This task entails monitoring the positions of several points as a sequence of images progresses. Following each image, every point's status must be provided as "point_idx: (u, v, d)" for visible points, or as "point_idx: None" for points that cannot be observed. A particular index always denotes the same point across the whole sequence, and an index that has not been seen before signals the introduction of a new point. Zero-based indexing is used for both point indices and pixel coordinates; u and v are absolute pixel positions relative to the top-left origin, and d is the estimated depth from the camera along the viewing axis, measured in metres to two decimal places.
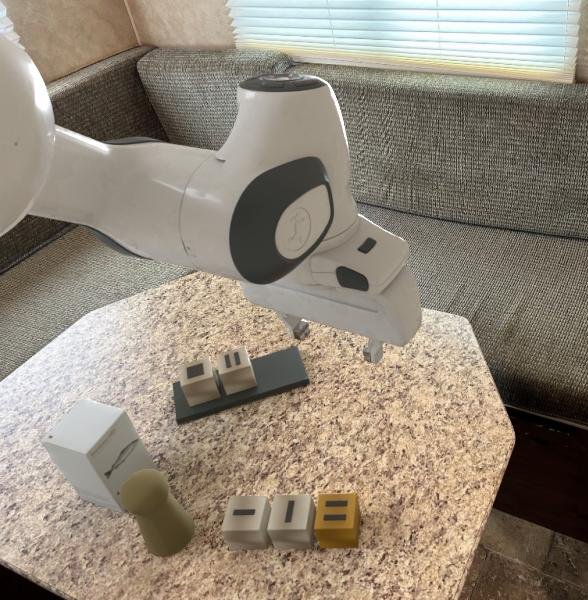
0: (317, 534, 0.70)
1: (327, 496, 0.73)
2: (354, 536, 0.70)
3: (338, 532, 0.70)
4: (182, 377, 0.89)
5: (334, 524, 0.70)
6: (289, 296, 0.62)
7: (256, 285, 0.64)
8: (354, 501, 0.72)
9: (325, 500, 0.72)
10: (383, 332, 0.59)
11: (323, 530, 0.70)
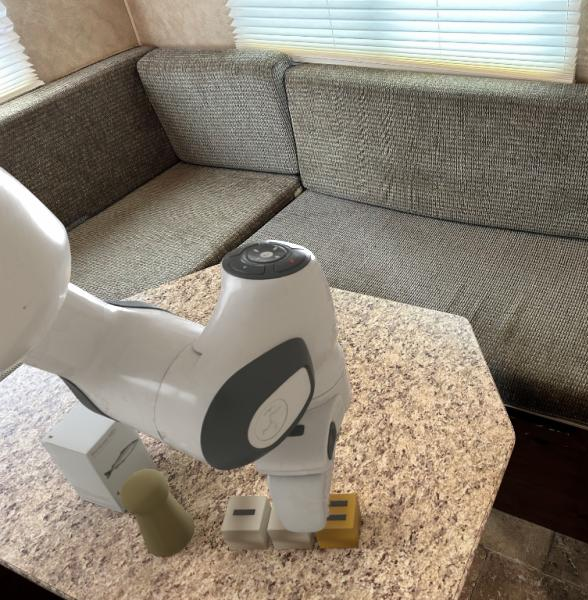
0: (317, 534, 0.70)
1: None
2: (354, 536, 0.70)
3: (338, 532, 0.70)
4: None
5: (334, 524, 0.70)
6: None
7: None
8: (354, 501, 0.72)
9: None
10: None
11: (323, 530, 0.70)
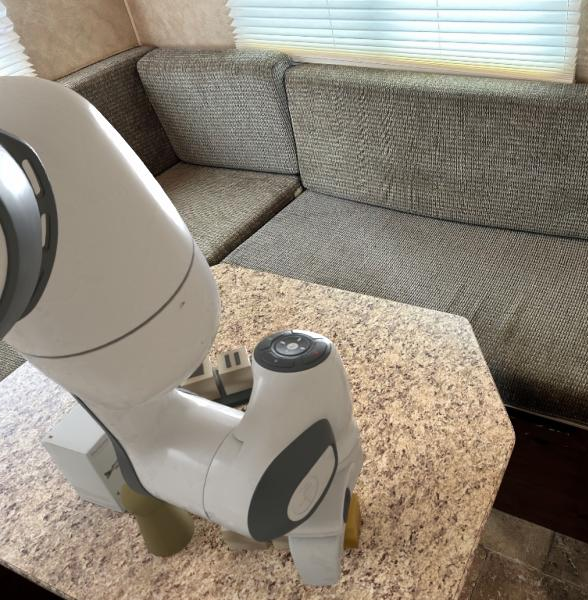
0: None
1: None
2: (354, 536, 0.70)
3: None
4: None
5: None
6: None
7: None
8: (354, 501, 0.72)
9: None
10: None
11: None
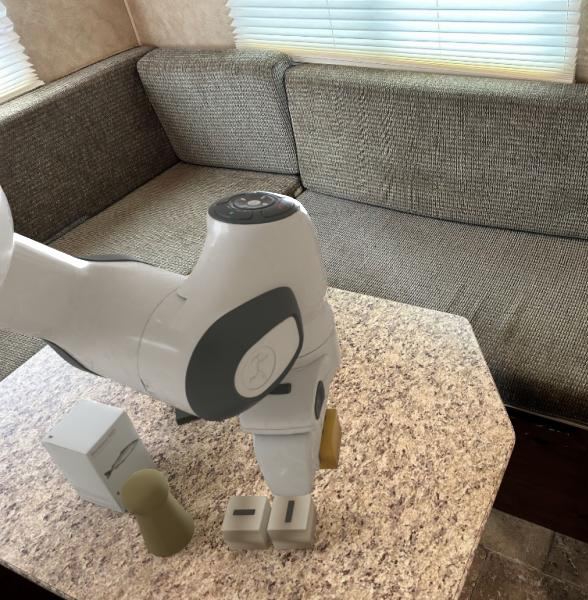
0: None
1: None
2: (333, 453, 0.63)
3: None
4: None
5: None
6: None
7: None
8: (333, 416, 0.64)
9: None
10: None
11: None
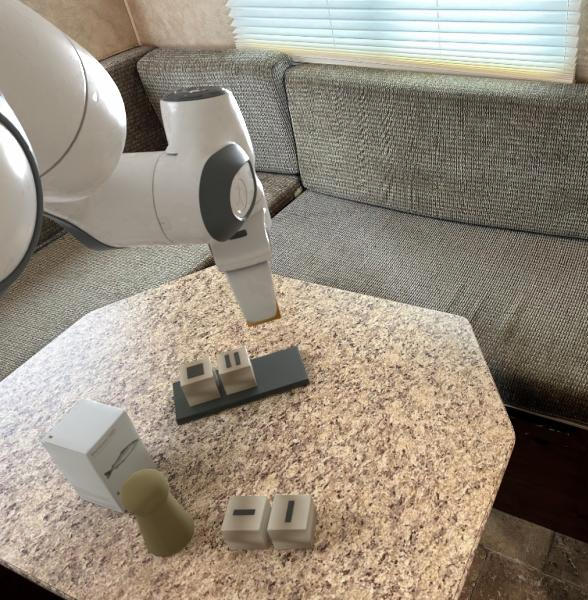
0: None
1: None
2: (276, 303, 0.81)
3: None
4: (182, 377, 0.89)
5: None
6: None
7: None
8: None
9: None
10: None
11: None
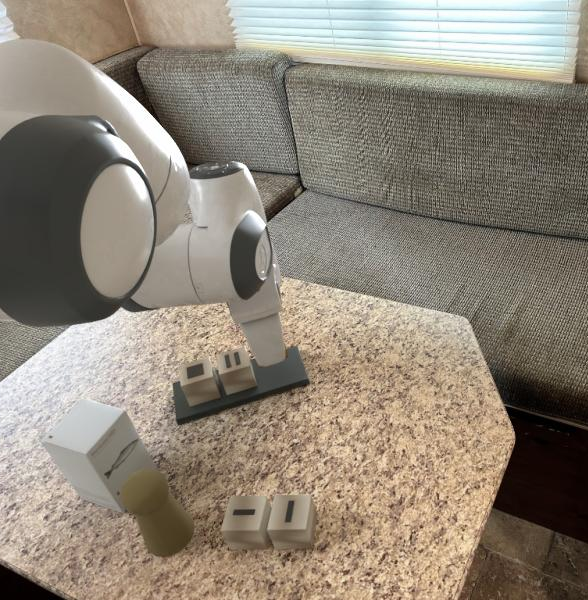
0: None
1: None
2: None
3: None
4: (182, 377, 0.89)
5: None
6: None
7: None
8: None
9: None
10: None
11: None
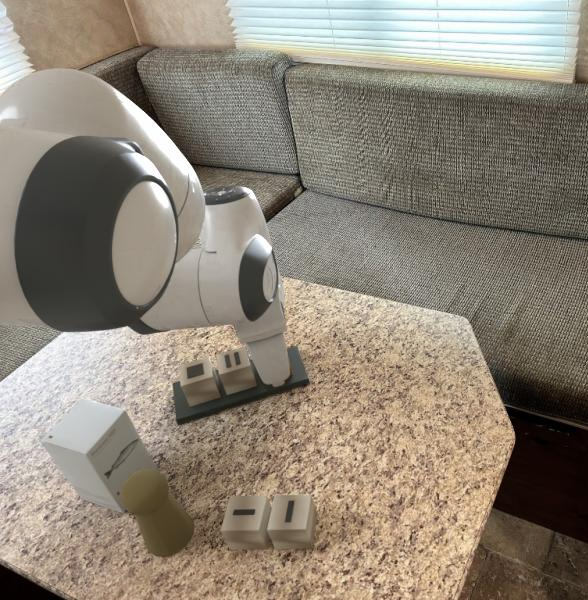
0: None
1: None
2: (289, 362, 0.92)
3: None
4: (182, 377, 0.89)
5: None
6: None
7: None
8: None
9: None
10: None
11: None
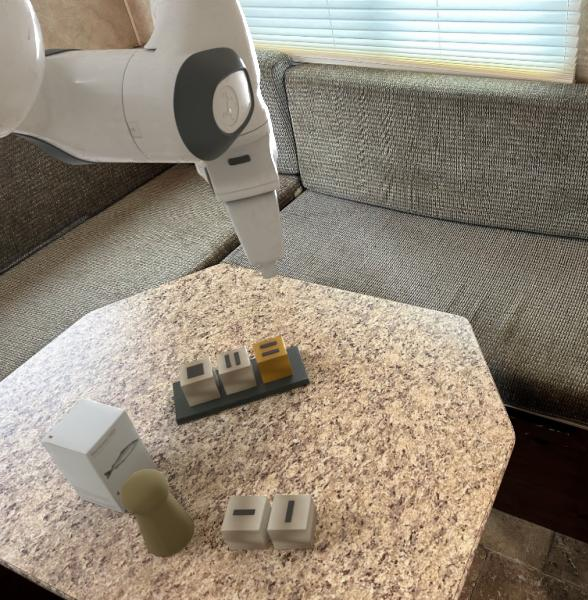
0: (260, 368, 0.91)
1: (259, 343, 0.93)
2: (289, 362, 0.92)
3: (276, 362, 0.91)
4: (182, 377, 0.89)
5: (271, 356, 0.91)
6: None
7: None
8: (281, 339, 0.93)
9: (259, 345, 0.93)
10: None
11: (264, 362, 0.90)
